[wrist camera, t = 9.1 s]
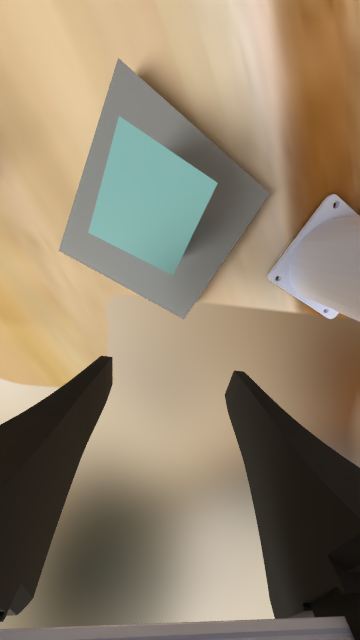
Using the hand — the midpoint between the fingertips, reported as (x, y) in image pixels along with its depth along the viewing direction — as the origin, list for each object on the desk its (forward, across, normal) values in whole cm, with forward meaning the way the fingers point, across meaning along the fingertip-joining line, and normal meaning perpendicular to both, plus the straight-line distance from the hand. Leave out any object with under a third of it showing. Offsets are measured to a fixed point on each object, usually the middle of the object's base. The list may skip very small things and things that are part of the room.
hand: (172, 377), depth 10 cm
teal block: (+8, +2, -8) cm, 11 cm away
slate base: (+10, +2, -8) cm, 13 cm away
